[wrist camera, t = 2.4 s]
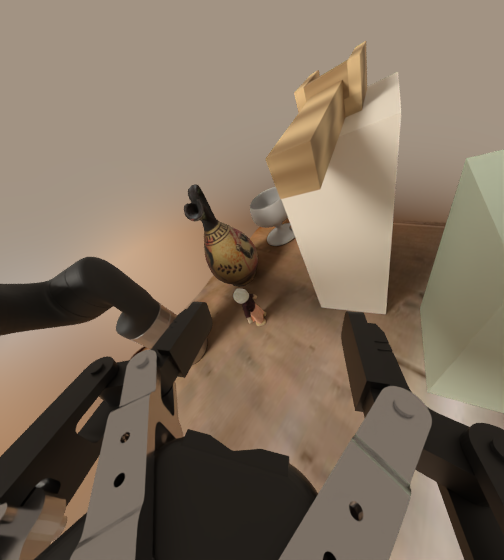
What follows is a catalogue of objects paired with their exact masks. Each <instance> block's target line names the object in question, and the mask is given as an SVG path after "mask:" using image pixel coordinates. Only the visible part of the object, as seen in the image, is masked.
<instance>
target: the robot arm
mask: <svg viewBox="0 0 504 560" xmlns="http://www.w3.org/2000/svg"><path fill="white" fill-rule="evenodd" d="M113 306H114V307H116V308H117V309H119V310H120V311H122V313H121V315H120V317H119V319H118V321H117V326H116V331H117V332H118V334H120V335H121V336H123V337H125V338H127V339H130V340H132V341H134V342H136V343H138V344H141V345H143V346H145V347H147V348H149V349H150V350H145V351H142V352H140V353H138V354H137V355H135V356H134V357H133V358H132V359H131V360H129V361H123V362H117V363H116V362H115V361H114V360H113V358H111V357H103V358H100V359H98V360H96V361H95V362H93V363H91V364H90V365H89V366H88V367H87V368H86V369H85V370H84V371H83V372H82V373H81V374H80V375H79V376H78V377H77V378H76V379H75V380H74V381H73V382H72V383H71V384H70V385H69V386H68V388H66V389H65V390H64V392H63V393H62V394H61V395H60V396H59V397H58V398H57V399H56V400H55V401H54V402H53V403H52V404H51V405H50V406H49V407H48V408H47V409H46V410H45V411H44V412H43V413H42V414H41V415H40V416H39V417H38V418H37V419H36V421H35V422H34V423H33V424H32V425H31V426H30V427H29V428H28V429H27V430H26V431H25V432H24V433H23V434H22V435H21V436H20V437H19V438H18V439H17V440H16V441H15V442H14V443H13V444H12V445H11V446H10V448H9V449H7V450H6V452H5V453H4V454H3V455H2V456H1V457H0V560H389V558H390V555H391V552H392V550H393V547H394V544H395V541H396V538H397V535H398V533H399V530H400V527H401V524H402V521H403V519H404V516H405V513H406V510H407V507H408V504H409V501H410V496H411V489H410V483H411V479H412V477H413V474H414V471H415V470H417V471H419V472H420V473H422V474H424V475H426V476H427V477H429V478H431V479H432V480H434V481H436V482H437V484H438V487H439V490H440V493H441V495H442V498H443V501H444V504H445V507H446V509H447V512H448V515H449V518H450V521H451V523H452V526H453V529H454V532H455V535H456V538H457V540H458V543H459V546H460V549H461V552H462V554H463V557H464V560H504V430H503V429H501V428H498V427H496V426H493V425H490V424H486V423H476V424H473V425H472V426H471V427H468V426H466V425H464V424H461V423H459V422H457V421H454V420H452V419H450V418H448V417H445V416H443V415H441V414H438V413H436V412H434V411H433V410H431V409H429V408H428V407H427V406H426V405H425V404H424V403H423V402H422V401H421V400H420V399H419V398H418V397H417V396H416V395H414V394H413V393H412V392H411V390H410V389H409V387H408V385H407V383H406V380H405V378H404V376H403V374H402V371H401V369H400V367H399V365H398V363H397V360H396V358H395V356H394V354H393V353H392V349H391V347H390V345H389V344H388V343H389V342H388V340H387V338H386V336H385V333H384V332H383V331H382V330H381V329H380V328H379V327H378V326H377V325H376V324H373V323H367V320H366V318H365V315H364V313H363V312H351V311H346V313H345V317H344V322H343V327H342V333H341V339H342V346H343V351H344V356H345V361H346V366H347V371H348V377H349V382H350V387H351V392H352V397H353V402H354V407H355V411H360V412H363V413H364V417H365V419H364V421H363V422H362V424H361V426H360V427H359V429H358V431H357V432H356V434H355V435H354V436H353V438H352V439H351V441H350V442H349V444H348V446H347V447H346V449H345V451H344V452H343V454H342V455H341V457H340V459H339V460H338V462H337V464H336V465H335V467H334V469H333V470H332V472H331V474H330V475H329V477H328V479H327V480H326V482H325V484H324V485H323V487H322V489H321V490H320V492H319V494H318V493H317V491H316V490H315V488H314V487H313V486H312V484H311V483H310V482H309V480H308V479H307V478H306V477H305V476H304V475H303V474H302V473H301V472H300V471H299V470H298V469H296V468H295V467H294V466H292V465H291V464H289V456H286V455H282V454H278V453H274V452H271V451H267V450H263V449H254V450H241V451H232V450H230V449H229V448H227V447H226V446H224V445H223V444H222V443H220V442H219V441H218V440H216V439H215V438H213V437H212V436H211V435H208V434H204V433H200V432H197V431H193V430H189V429H188V430H187V433H186V435H185V437H183V432H182V428H181V425H180V423H179V418H178V407H177V394H176V383H175V380H176V378H177V376H178V377H184V378H185V377H186V375H187V373H188V371H189V370H190V368H191V366H192V365H193V364H195V363H196V362H198V361H199V360H200V359H201V358H202V356H203V355H204V353H205V351H206V348H207V336H208V334H209V332H210V330H211V328H212V317H211V314H210V312H209V309H208V306H207V303H205V302H192V303H191V305H190V306H189V307H188V309H185V310H184V311H182V312H181V313H180V314H178V315H176V314H174V313H173V312H172V311H170V310H169V309H167V308H166V307H164V306H163V305H161V304H160V303H159V302H157V301H156V300H154V299H153V298H152V297H151V295H150V294H149V293H148V292H147V291H146V290H144V289H143V288H142V287H141V286H139V285H138V284H137V283H135V282H134V281H133V280H132V279H130V278H129V277H128V276H127V275H125V274H124V273H123V272H122V271H120V270H119V269H118V268H116V267H115V266H113V265H112V264H110V263H109V262H107V261H105V260H102V259H100V258H96V257H86V258H83V259H81V260H79V261H77V262H76V263H74V264H73V265H71V266H70V267H69V268H67V269H66V270H64V271H63V272H61V273H60V274H59V275H57V276H56V277H54V278H53V279H51V280H49V281H45V282H41V283H31V284H0V335H5V334H10V333H16V332H23V331H29V330H36V329H45V328H52V327H60V326H67V325H75V324H80V323H84V322H87V321H90V320H92V319H95V318H96V317H98V316H100V315H101V314H103V313H104V312H105V311H107V310H108V309H110V308H111V307H113ZM98 396H99V397H100V398H101V399H102V400H103V402H102V403H101V404H100V406H99V407H98V408H97V409H96V411H95V412H94V413H93V415H92V416H91V417H90V419H89V420H88V421H87V423H86V424H85V425H84V426H83V428H82V429H81V430H80V432H79V433H78V434H77V433H76V431H75V430H76V425H77V423H78V422H79V420H80V419H81V418H82V416H83V415H84V414H85V413H86V411H87V410H88V409H89V408H90V406H91V405H92V404H93V403H94V401H95V400H96V399H97V398H98ZM99 455H100V456H99ZM98 457H99V461H98V465H97V470H96V475H95V479H94V484H93V489H92V493H91V498H90V502H89V507H88V512H87V513H86V514H85V515H83V516H82V517H81V518H80V519H79V520H78V521H77V522H76V523H75V524H73V525H72V526H71V527H70V528H69V529H68V530H67V531H65V532H64V533H63V534H62V535H61V536H60V537H59V535H60V534H61V533H62V531H63V530H64V528H65V526H66V523H67V516H65V515H64V513H65V510H66V506H67V505H68V503H69V502H70V500H71V499H72V497H73V496H74V494H75V492H76V491H77V489H78V488H79V486H80V485H81V483H82V482H83V480H84V478H85V477H86V475H87V474H88V472H89V470H90V469H91V467H92V466H93V464H94V463H95V461H96V460H97V458H98ZM58 537H59V538H58ZM55 539H57V540H55ZM54 540H55V541H54ZM52 541H54V542H53V543H52V544H51V545H50V543H51V542H52Z"/></svg>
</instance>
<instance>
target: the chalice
mask: <svg viewBox="0 0 504 560" xmlns="http://www.w3.org/2000/svg"><path fill="white" fill-rule="evenodd" d="M250 212H251V216H252V219H253V221H254V223H256V224H257V225H258V226H260V227H273V226H275V227H276V228H275V229H273V230H272V231H271V232H270V233H269V235H268V237H267V242H268V244H270V245H272V246H279V245H283V244H286V243H288V242H290V241H291V240H292V239H294V238H295V235H294V232H292V231H291V230H290V229H289V227H290V225H291V224H290V223H286V224H283V225H282V222H283V221H285V220H286V219H287V218H288V216H287V213H286V211H285V208H284V205H283V203H282V200H281V199H280V197H279V194H278V191H277V189H276V187H274V188H270V189H268V190H266V191H264V192H262V193H261V194H259V195H258V196H257V197H255V198H254V199H253V201H252V202H251V205H250Z"/></svg>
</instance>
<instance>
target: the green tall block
mask: <svg viewBox="0 0 504 560" xmlns="http://www.w3.org/2000/svg"><path fill="white" fill-rule="evenodd" d="M420 315H421V326H422V338H423V349H424V360H425V371H426V382H427V392H429V393H432V394H436V395H439V396H443V397H446V398H450V399H454V400H457V401H461V402H464V403H468V404H472V405H475V406H479V407H482V408H486V409H490V410H493V411H497V412H500V413H504V150H500V151H496V152H492V153H487V154H483V155H479V156H475V157H471V158H467V159H466V161H465V164H464V168H463V171H462V174H461V177H460V180H459V184H458V187H457V190H456V193H455V196H454V200H453V203H452V206H451V209H450V213H449V216H448V219H447V222H446V226H445V229H444V232H443V235H442V239H441V242H440V245H439V248H438V252H437V255H436V258H435V261H434V265H433V268H432V271H431V274H430V277H429V281H428V284H427V287H426V290H425V294H424V297H423V300H422V303H421V307H420Z"/></svg>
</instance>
